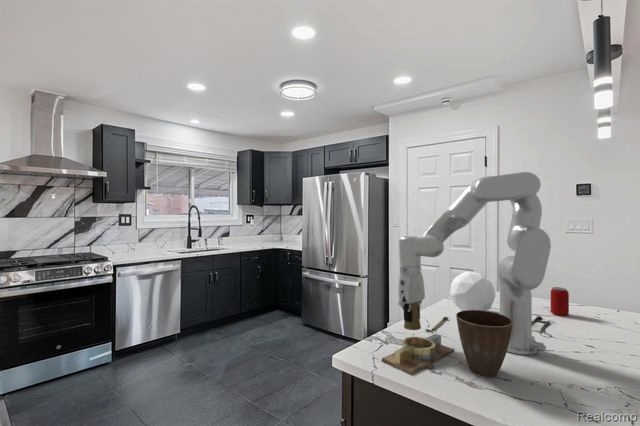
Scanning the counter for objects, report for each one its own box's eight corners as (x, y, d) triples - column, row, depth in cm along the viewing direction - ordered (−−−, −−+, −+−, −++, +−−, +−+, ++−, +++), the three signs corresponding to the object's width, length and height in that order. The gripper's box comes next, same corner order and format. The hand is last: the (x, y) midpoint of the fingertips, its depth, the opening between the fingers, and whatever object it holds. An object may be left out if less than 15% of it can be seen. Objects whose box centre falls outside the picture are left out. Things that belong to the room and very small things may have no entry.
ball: (462, 328, 152) (435, 293, 155) (474, 304, 166) (449, 272, 169) (499, 317, 139) (469, 278, 141) (508, 292, 153) (480, 257, 156)
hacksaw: (537, 318, 146) (537, 315, 146) (565, 324, 138) (565, 320, 138) (519, 331, 130) (519, 328, 130) (550, 339, 122) (550, 335, 122)
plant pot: (525, 380, 92) (525, 323, 92) (482, 388, 87) (482, 328, 87) (485, 357, 106) (484, 308, 106) (445, 363, 102) (445, 312, 102)
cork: (411, 331, 116) (410, 300, 116) (400, 326, 121) (399, 296, 121) (424, 328, 119) (423, 297, 119) (412, 323, 124) (411, 294, 124)
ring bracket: (425, 340, 118) (425, 330, 118) (451, 349, 110) (451, 338, 110) (384, 358, 104) (384, 347, 104) (411, 369, 96) (411, 357, 96)
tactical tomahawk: (441, 338, 126) (442, 335, 125) (425, 332, 130) (425, 329, 130) (458, 322, 142) (459, 320, 142) (443, 318, 146) (443, 315, 146)
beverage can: (568, 313, 152) (567, 287, 152) (569, 317, 146) (569, 290, 146) (550, 311, 155) (550, 286, 155) (551, 315, 149) (550, 288, 149)
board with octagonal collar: (425, 342, 119) (425, 339, 119) (454, 352, 110) (454, 349, 110) (381, 361, 104) (381, 358, 104) (411, 374, 95) (411, 371, 95)
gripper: (404, 274, 112) (406, 328, 112) (432, 268, 123) (434, 317, 122) (387, 272, 118) (389, 322, 118) (415, 266, 128) (416, 313, 128)
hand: (412, 319), depth 120 cm, fingers closed on cork, 4 cm apart
